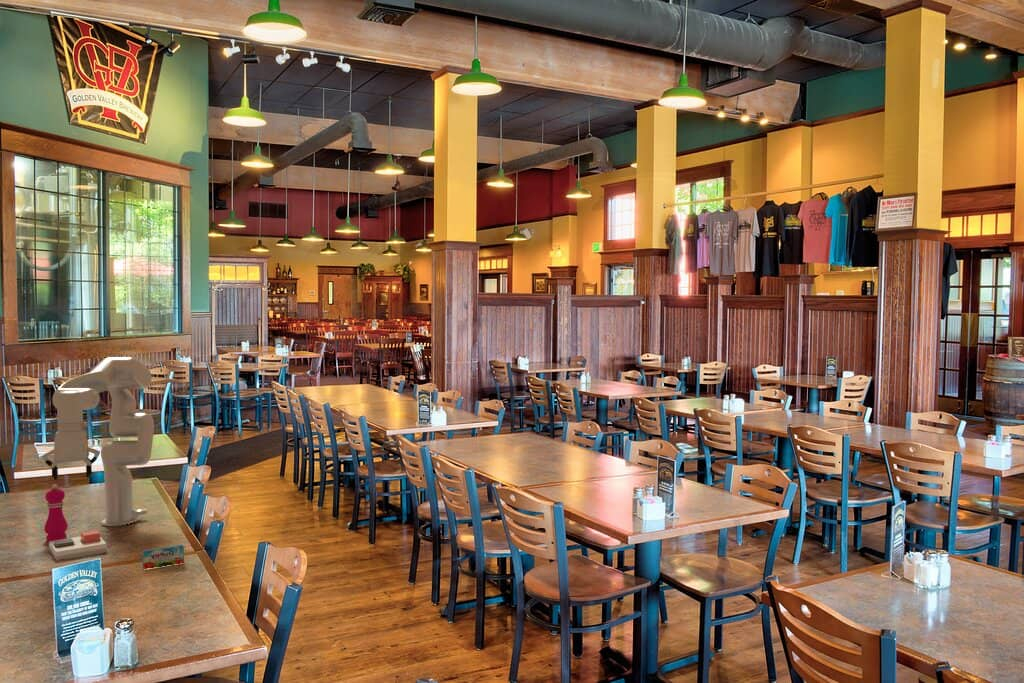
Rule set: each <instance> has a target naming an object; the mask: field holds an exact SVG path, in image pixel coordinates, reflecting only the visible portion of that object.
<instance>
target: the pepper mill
mask: <svg viewBox="0 0 1024 683" xmlns="http://www.w3.org/2000/svg"><path fill="white" fill-rule="evenodd" d="M51 488H52V489H49V490H47V492H46V494H45V497H44V498H45V501H47V508H48V516H47V519H46V521H45V523H44V524H45V525H44V533H46V534H47V535H46V537H45V538H46V542H47V541H48V542H47V543H49V541H55V540H62V539H67V533H66V531H68V529H69V528H68V527H69V525H68V522H67V520H66V518H65V516H64V513H63V506H64V501H63V500H64V499H65V496H66V494H65V491H64V490H63V489H61V488H58V484H56V483H55V484H52V486H51Z"/></svg>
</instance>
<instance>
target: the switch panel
mask: <svg viewBox="0 0 1024 683" xmlns="http://www.w3.org/2000/svg"><path fill="white" fill-rule="evenodd" d="M69 538H71V539H72V540H73V541H74V545H73V546H67V547H61V548H55V542H54V541H49V542H48V550H50V551H49V552H50V553H52V554H51V555H52V557H53V556H54V557H53V558H54V560H55V559H56V560H58V561H62V560H61V559H64V560H69V559H68V558H70V559H75V558H81V557H87V556H91V555H97V554H103V553H107V552H108V550H107V548H108V545H107V542H106V541H105V540H104V539H103V537H101V536H100V540H99V541H93V542H87V543H83V541H82V540H81V535H80V536H75V537H69ZM69 538H67V539H69ZM62 540H63V539H62ZM55 541H57V540H55ZM56 560H55V561H56Z"/></svg>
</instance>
